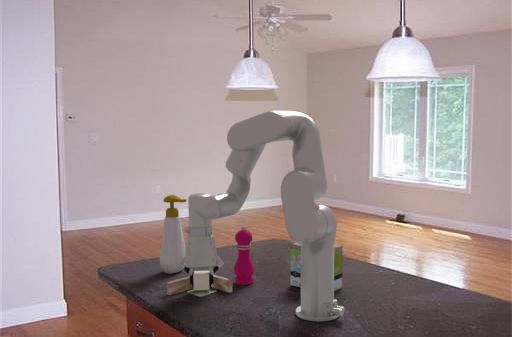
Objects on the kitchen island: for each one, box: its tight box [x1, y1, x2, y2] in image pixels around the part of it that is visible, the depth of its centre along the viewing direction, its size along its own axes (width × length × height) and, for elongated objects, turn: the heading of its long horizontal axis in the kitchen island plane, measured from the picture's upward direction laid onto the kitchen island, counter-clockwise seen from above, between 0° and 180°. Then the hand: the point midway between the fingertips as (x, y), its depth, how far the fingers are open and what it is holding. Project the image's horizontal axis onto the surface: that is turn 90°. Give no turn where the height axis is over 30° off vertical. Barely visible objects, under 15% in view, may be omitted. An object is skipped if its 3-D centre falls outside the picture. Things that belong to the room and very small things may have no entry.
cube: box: [193, 270, 211, 290], centre depth 177 cm, size 5×5×5 cm
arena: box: [166, 274, 233, 298], centre depth 176 cm, size 14×16×4 cm
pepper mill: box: [233, 225, 255, 286], centre depth 187 cm, size 7×7×20 cm
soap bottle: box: [159, 194, 188, 275], centre depth 201 cm, size 13×10×29 cm
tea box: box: [289, 242, 343, 292], centre depth 181 cm, size 15×10×15 cm, turn 47°
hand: (201, 285), depth 177 cm, fingers closed on cube, 5 cm apart
